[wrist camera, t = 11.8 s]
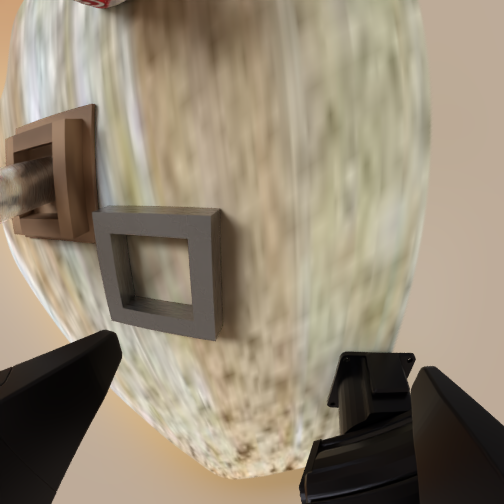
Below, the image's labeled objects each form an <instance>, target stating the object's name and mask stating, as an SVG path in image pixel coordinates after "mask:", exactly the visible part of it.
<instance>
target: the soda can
mask: <svg viewBox="0 0 504 504" xmlns="http://www.w3.org/2000/svg"><path fill="white" fill-rule="evenodd" d="M74 1H77V2H80V3H82V4H85V5H89V6H93V7H96V8H109V7H112V6H115V5H118V4H120V3H122V2H124V1H126V0H74Z"/></svg>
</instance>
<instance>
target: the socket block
mask: <svg viewBox="0 0 504 504" xmlns="http://www.w3.org/2000/svg"><path fill="white" fill-rule="evenodd" d="M92 218H93V226H94V233H95V240H96V246H97V253H98V259H99V264H100V270H101V275H102V280H103V285H104V289H105V294H106V299H107V303H108V307H109V311H110V315H111V319H112V321H116V322H120V323H124V324H128V325H133V326H137V327H142V328H146V329H151V330H156V331H161V332H166V333H171V334H176V335H182V336H187V337H193V338H199V339H205V340H211V341H216V339H217V337H218V335H219V333H220V331H221V328H222V326H223V318H222V287H221V243H220V209H218V208H194V207H163V206H106V207H103V208H101V209H98V210H96V211H93V212H92ZM126 235H141V236H155V237H169V238H183V239H188V251H189V266H190V280H191V293H192V304H193V305H188V304H181V303H174V302H168V301H162V300H155V299H149V298H143V297H138V296H135V293H134V287H133V281H132V275H131V268H130V261H129V254H128V246H127V238H126Z"/></svg>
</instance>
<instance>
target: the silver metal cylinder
mask: <svg viewBox="0 0 504 504" xmlns="http://www.w3.org/2000/svg"><path fill="white" fill-rule="evenodd" d="M54 201H56V197H55V187H54V174H53V157H44V158H39V159H34V160H30V161H25V162H21V163H17V164H13V165H9V166H5V167H1V168H0V223H2V222H5V221H7V220H9V219H12V218H14V217H16V216H19V215H21V214H23V213H26V212H28V211H31V210H33V209H36V208H38V207H41V206H43V205H46V204H49V203H51V202H54Z"/></svg>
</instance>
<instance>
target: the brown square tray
mask: <svg viewBox="0 0 504 504" xmlns="http://www.w3.org/2000/svg"><path fill="white" fill-rule="evenodd" d="M5 149H6V166H9V165H13V164H17V163H21V162H25V161H30V160H34V159H39V158H44V157H53V174H54V187H55V197H56V201H54V202H51V203H49V204H46V205H43V206H41V207H38V208H36V209H33V210H31V211H28V212H26V213H23V214H21V215H19V216H16V217H14V218H12V222H13V228H14V233H15V234H20V235H25V237H33V238H43V239H54V240H64V241H75V242H86V243H96V240H95V233H94V226H93V218H92V212H93V211H96V210H98V209H99V207H98V196H97V184H96V167H95V104H89V105H86V106H82V107H78V108H75V109H71V110H68V111H65V112H61V113H58V114H55V115H52V116H49V117H46V118H43V119H40V120H38V121H35V122H32V123H29V124H27V125H24V126H22V127H19V128H17V129H16V135H14V136H12V137H9V138H7V139H5Z"/></svg>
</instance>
